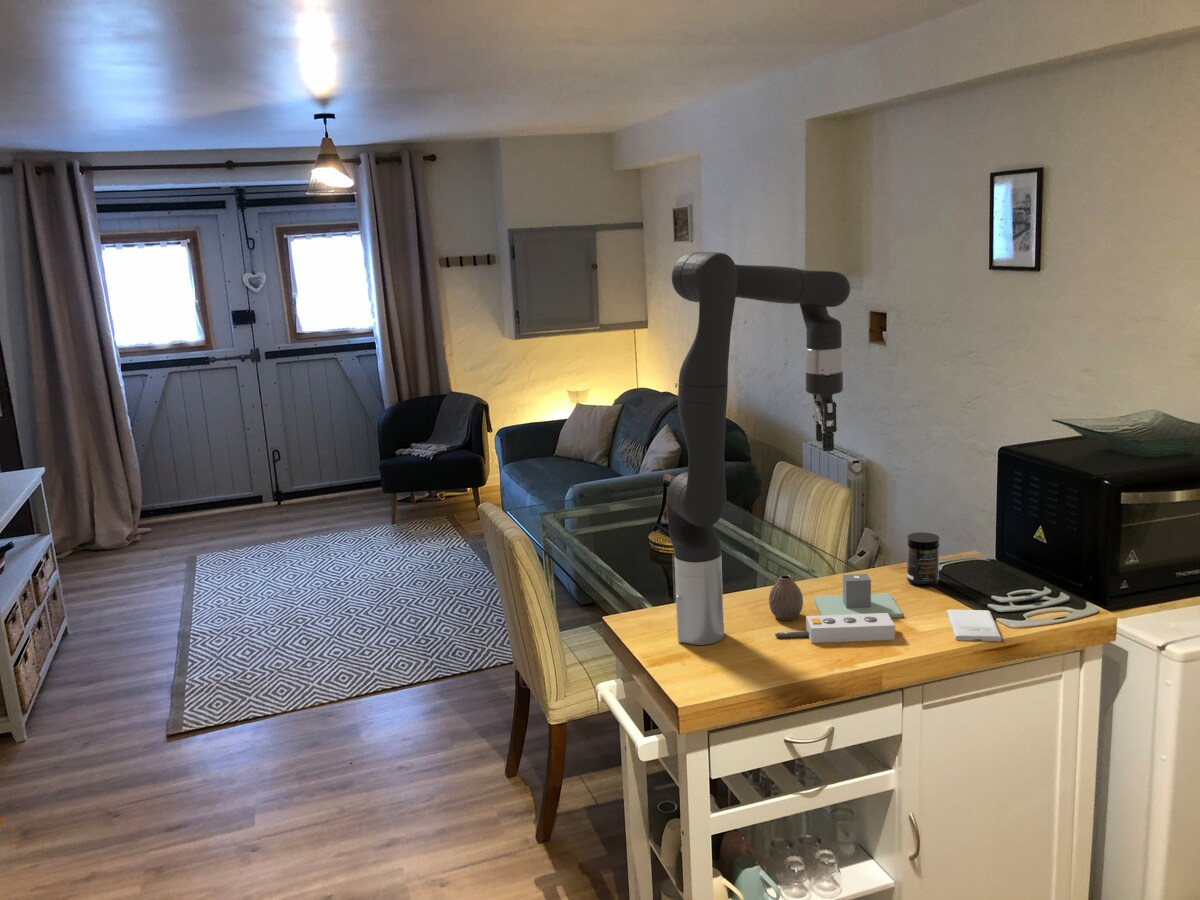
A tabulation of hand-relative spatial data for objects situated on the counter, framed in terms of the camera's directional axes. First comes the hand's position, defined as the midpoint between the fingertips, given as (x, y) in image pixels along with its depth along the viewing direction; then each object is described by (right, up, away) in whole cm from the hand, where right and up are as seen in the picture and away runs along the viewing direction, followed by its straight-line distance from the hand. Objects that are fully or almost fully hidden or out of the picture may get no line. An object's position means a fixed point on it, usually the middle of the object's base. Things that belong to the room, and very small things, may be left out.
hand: (824, 445), depth 207 cm
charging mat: (+6, -34, -1) cm, 35 cm away
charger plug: (+6, -33, -1) cm, 34 cm away
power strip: (-1, -37, -13) cm, 40 cm away
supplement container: (+24, -30, +11) cm, 40 cm away
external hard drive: (+26, -36, -13) cm, 47 cm away
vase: (-9, -36, -3) cm, 37 cm away
